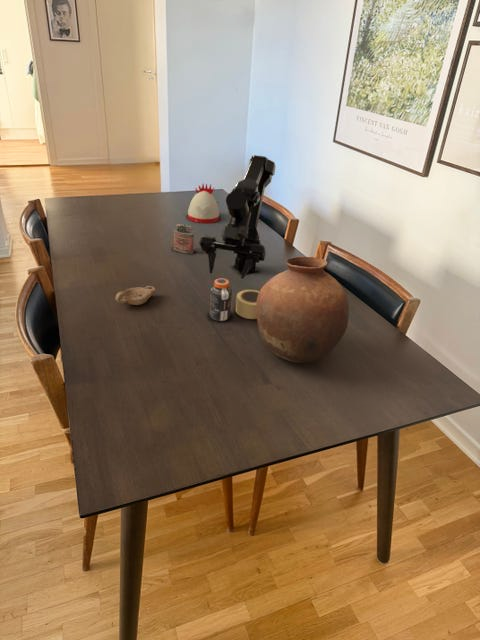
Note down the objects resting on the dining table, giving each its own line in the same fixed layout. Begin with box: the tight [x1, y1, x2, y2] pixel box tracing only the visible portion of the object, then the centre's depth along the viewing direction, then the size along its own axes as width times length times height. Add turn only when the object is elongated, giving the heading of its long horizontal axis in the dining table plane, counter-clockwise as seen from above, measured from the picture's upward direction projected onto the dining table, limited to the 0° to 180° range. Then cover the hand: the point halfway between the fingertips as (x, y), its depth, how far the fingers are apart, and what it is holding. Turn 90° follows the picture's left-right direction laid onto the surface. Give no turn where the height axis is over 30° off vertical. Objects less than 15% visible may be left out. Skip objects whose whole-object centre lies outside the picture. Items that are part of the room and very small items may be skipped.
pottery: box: [256, 256, 350, 364], centre depth 111 cm, size 23×23×25 cm
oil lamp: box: [115, 285, 156, 306], centre depth 130 cm, size 13×8×5 cm, turn 135°
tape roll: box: [235, 289, 260, 320], centre depth 131 cm, size 9×9×5 cm
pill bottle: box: [209, 277, 233, 322], centre depth 126 cm, size 6×6×11 cm
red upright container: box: [173, 223, 195, 255], centre depth 163 cm, size 8×3×10 cm, turn 68°
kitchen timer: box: [187, 183, 220, 224], centre depth 195 cm, size 14×14×15 cm
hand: (226, 275), depth 127 cm, fingers open, 9 cm apart
